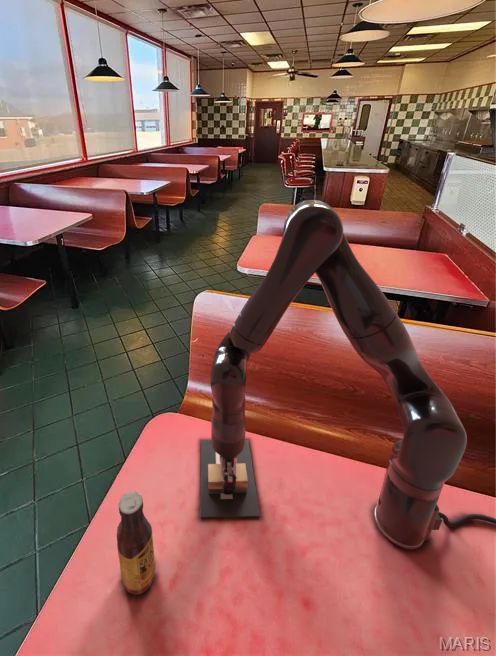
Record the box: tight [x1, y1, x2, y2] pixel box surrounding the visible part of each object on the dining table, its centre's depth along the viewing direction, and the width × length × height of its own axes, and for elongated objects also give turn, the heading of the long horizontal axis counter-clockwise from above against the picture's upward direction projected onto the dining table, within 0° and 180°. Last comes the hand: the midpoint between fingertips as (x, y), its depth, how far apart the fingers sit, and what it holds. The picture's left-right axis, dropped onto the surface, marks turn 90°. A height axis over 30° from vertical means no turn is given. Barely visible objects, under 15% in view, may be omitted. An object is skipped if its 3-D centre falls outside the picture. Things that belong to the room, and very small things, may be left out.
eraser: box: [208, 463, 248, 494], centre depth 78 cm, size 9×4×4 cm, turn 91°
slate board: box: [200, 439, 261, 519], centre depth 81 cm, size 13×20×1 cm, turn 1°
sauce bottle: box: [116, 490, 156, 596], centre depth 59 cm, size 6×6×20 cm
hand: (227, 481), depth 79 cm, fingers closed on eraser, 4 cm apart
